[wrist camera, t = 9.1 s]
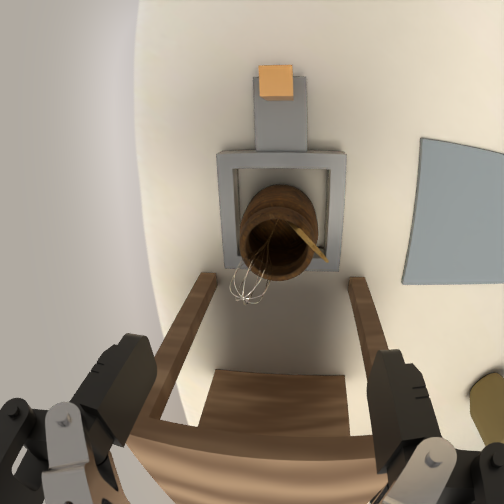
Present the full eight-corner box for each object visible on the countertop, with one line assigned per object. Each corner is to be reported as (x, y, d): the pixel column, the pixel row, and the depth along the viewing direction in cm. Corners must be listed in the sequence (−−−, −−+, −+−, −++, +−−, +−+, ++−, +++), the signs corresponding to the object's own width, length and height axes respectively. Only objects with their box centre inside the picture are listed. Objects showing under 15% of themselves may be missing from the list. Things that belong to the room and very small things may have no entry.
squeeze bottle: (456, 404, 35) (482, 497, 19) (475, 370, 32) (515, 471, 15) (491, 396, 34) (521, 478, 18) (512, 362, 30) (553, 450, 14)
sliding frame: (218, 81, 22) (195, 71, 16) (342, 79, 20) (357, 68, 15) (229, 258, 28) (213, 294, 23) (336, 261, 27) (344, 299, 22)
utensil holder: (233, 213, 27) (191, 284, 16) (285, 165, 24) (278, 207, 14) (279, 258, 28) (267, 348, 17) (331, 216, 26) (355, 290, 15)
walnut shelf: (201, 272, 30) (116, 430, 13) (364, 277, 28) (413, 452, 11) (217, 376, 37) (178, 506, 20) (342, 383, 34) (349, 519, 18)
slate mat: (420, 138, 21) (422, 138, 21) (527, 160, 20) (530, 161, 19) (401, 282, 27) (402, 284, 27) (501, 281, 25) (503, 283, 25)
